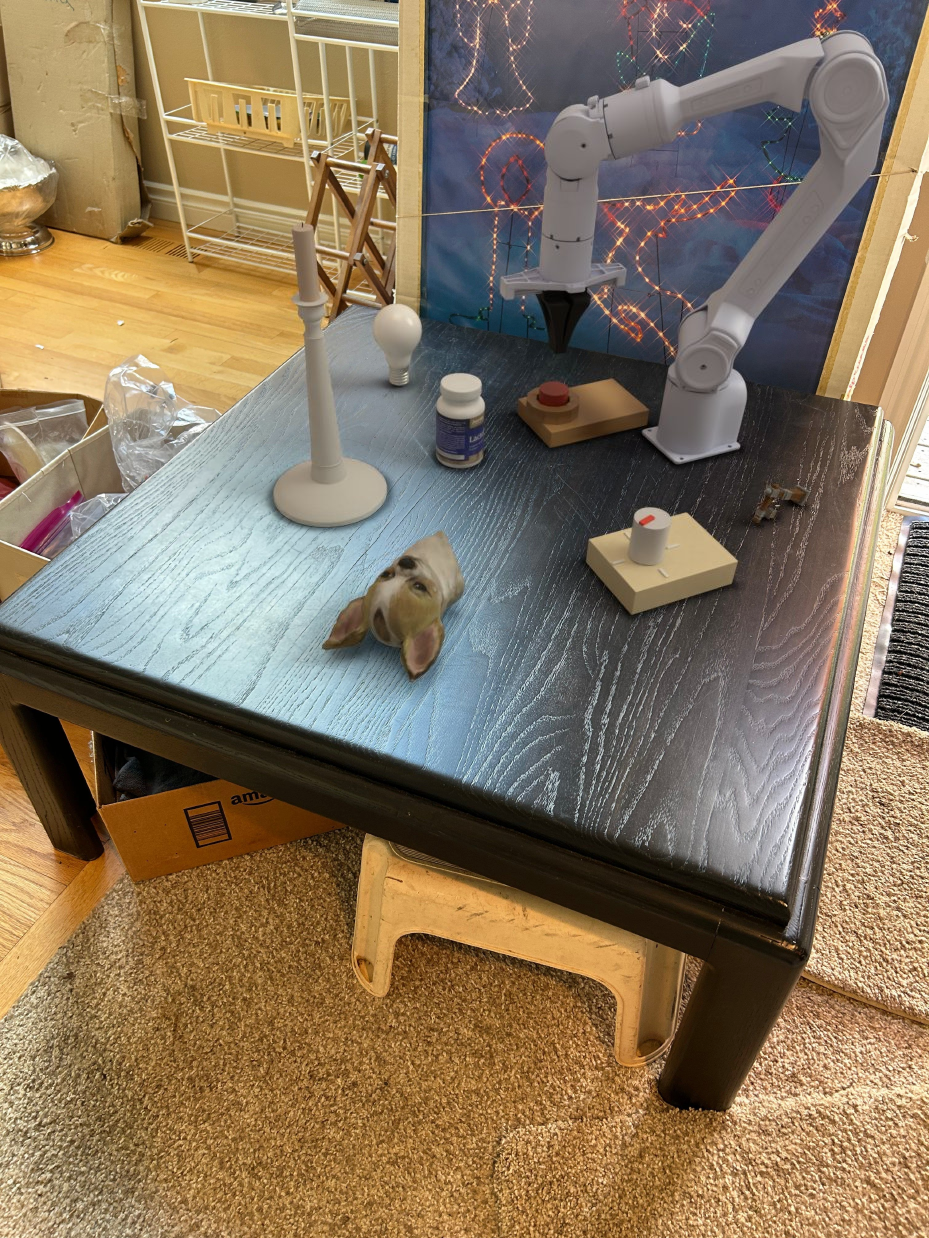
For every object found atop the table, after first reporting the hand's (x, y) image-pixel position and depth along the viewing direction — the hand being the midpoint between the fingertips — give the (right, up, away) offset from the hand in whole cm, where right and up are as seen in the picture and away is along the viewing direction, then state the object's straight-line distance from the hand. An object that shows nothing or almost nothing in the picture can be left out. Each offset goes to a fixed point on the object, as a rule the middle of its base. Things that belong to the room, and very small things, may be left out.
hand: (557, 349), depth 107 cm
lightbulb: (-20, -1, +15) cm, 25 cm away
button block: (+4, -6, +8) cm, 11 cm away
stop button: (0, -5, +5) cm, 7 cm away
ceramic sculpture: (-17, -33, -21) cm, 43 cm away
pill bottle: (-12, -13, +2) cm, 17 cm away
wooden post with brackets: (+24, -20, -6) cm, 32 cm away
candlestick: (-26, -18, -4) cm, 32 cm away
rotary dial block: (+9, -27, -14) cm, 32 cm away
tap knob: (+7, -26, -17) cm, 31 cm away
